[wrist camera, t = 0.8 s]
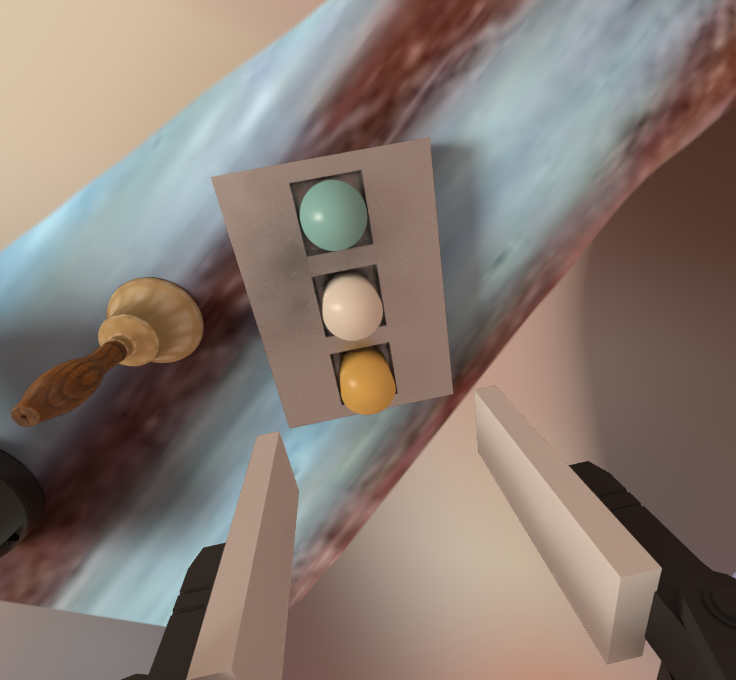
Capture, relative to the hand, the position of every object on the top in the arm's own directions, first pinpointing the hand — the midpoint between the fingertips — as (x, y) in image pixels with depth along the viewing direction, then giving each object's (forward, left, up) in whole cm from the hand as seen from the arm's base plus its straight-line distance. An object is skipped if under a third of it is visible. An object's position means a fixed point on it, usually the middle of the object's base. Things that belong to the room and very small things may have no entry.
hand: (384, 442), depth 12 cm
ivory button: (0, 0, -20) cm, 20 cm away
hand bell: (-18, 0, -23) cm, 29 cm away
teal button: (0, +7, -20) cm, 21 cm away
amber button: (0, -7, -20) cm, 21 cm away
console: (0, 0, -23) cm, 23 cm away
